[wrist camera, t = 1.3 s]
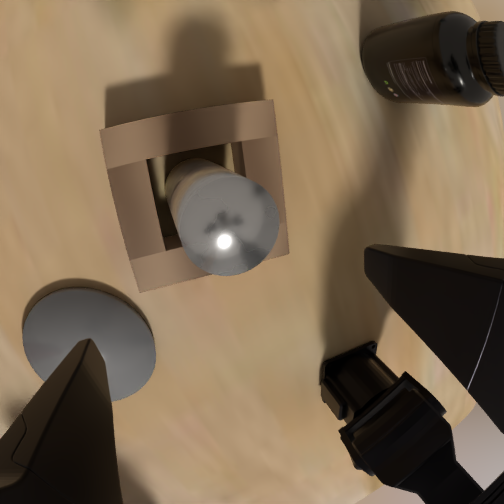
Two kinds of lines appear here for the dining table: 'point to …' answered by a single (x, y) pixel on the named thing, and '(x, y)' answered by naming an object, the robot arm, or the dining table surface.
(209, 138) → the socket block
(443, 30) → the supplement bottle
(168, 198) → the peg
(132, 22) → the dining table surface
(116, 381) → the coaster
